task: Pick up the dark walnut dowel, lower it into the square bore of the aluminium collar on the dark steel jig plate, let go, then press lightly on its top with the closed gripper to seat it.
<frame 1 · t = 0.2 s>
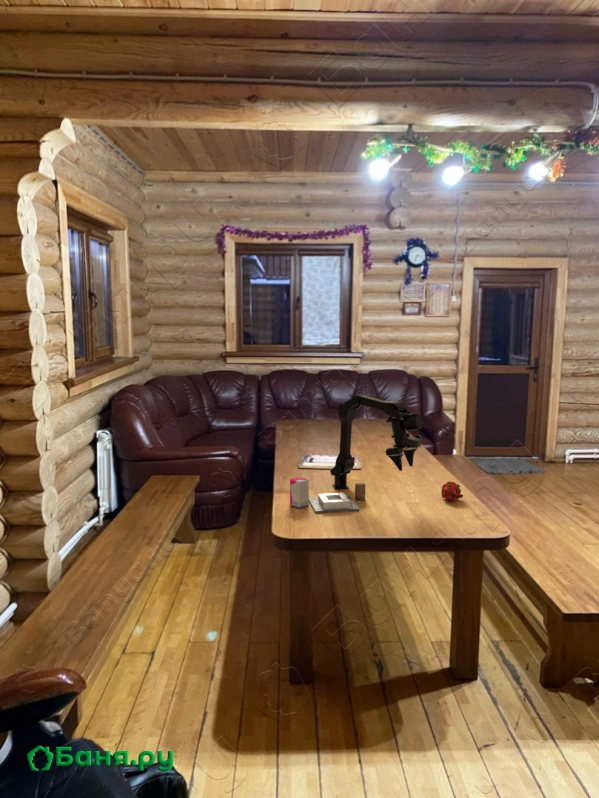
hand: (406, 468, 233), 15 cm above the table, tool pointing down, fingers open, 9 cm apart
jig: (333, 505, 233), on the table
supplement box: (299, 506, 232), on the table
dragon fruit: (451, 500, 240), on the table
walnut dowel: (360, 500, 240), on the table
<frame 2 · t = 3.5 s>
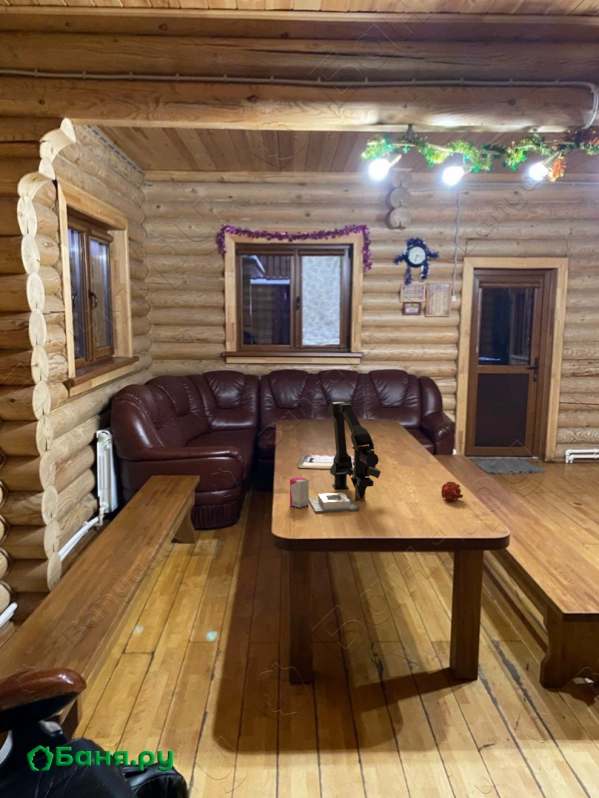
hand: (360, 496, 240), 2 cm above the table, tool pointing down, fingers closed on walnut dowel, 4 cm apart
walnut dowel: (360, 500, 240), on the table, touching gripper
everything else where it was.
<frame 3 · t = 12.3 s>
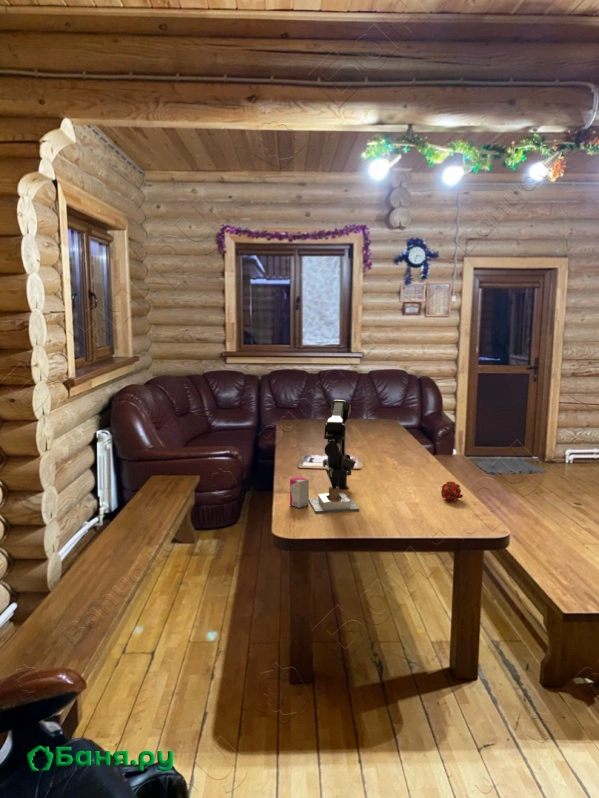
hand: (334, 488, 230), 8 cm above the table, tool pointing down, fingers closed, pressing on walnut dowel
walnut dowel: (334, 504, 231), point 1 cm above the table, touching gripper, jig
everything else where it was.
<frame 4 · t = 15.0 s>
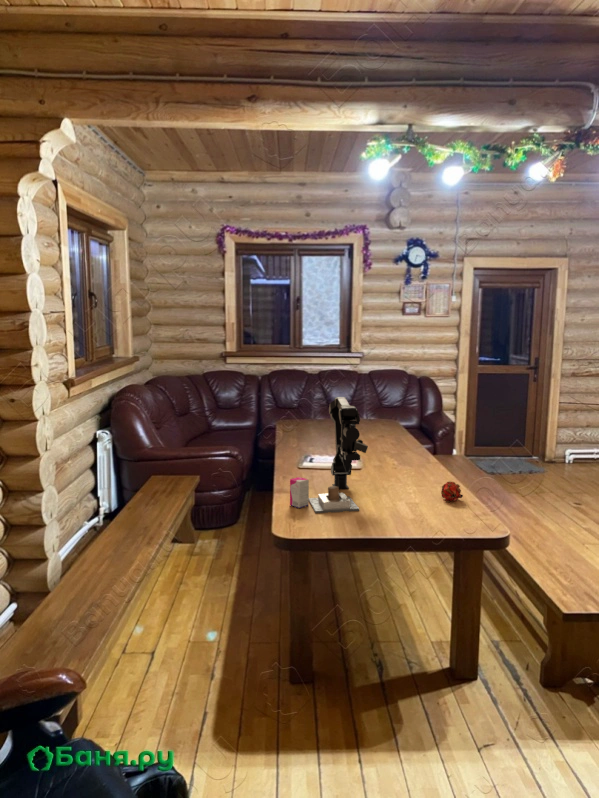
hand: (347, 471, 240), 12 cm above the table, tool pointing down, fingers closed
walnut dowel: (334, 503, 231), point 1 cm above the table, touching jig
everything else where it was.
at the end: walnut dowel 0.1 cm from the target spot on the jig, point 1.2 cm above the jig's base; walnut dowel tilted 4°; the gripper is holding nothing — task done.
